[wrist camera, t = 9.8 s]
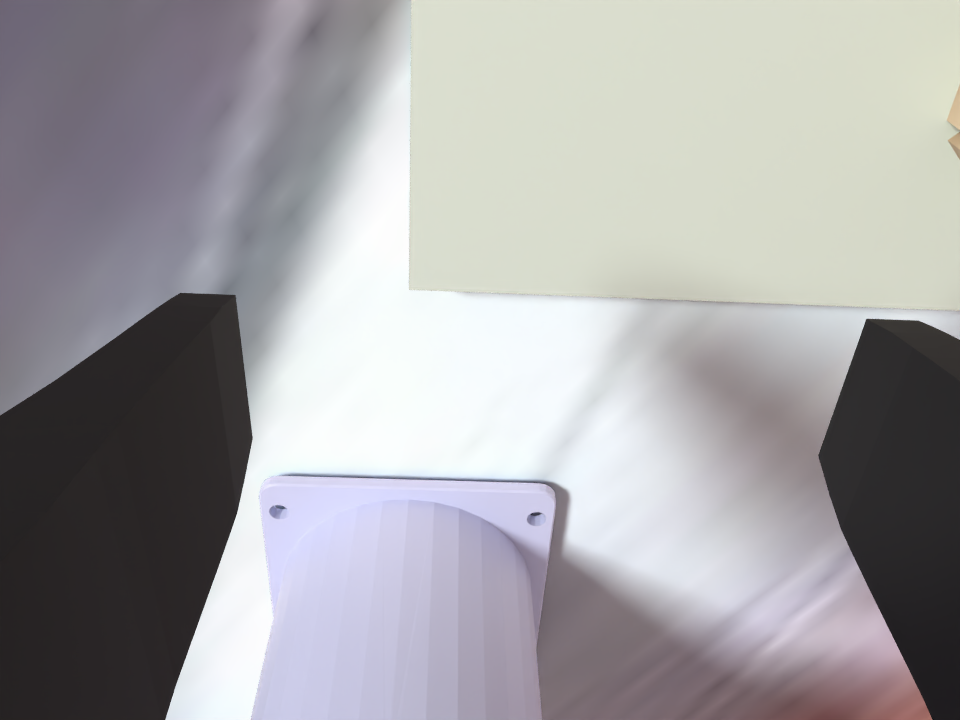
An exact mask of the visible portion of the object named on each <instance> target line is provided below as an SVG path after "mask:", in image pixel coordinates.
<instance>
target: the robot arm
mask: <svg viewBox="0 0 960 720" xmlns="http://www.w3.org/2000/svg"><path fill="white" fill-rule="evenodd" d="M251 444H252V430H251V421H250V413H249V405H248V396H247V388H246V380H245V371H244V363H243V355H242V346H241V338H240V329H239V321H238V313H237V304H236V296H235V295H220V294H193V293H180V294H178V295H176V296H175V297H173V298H171V299H170V300H168V301H167V302H165V303H164V304H162V305H161V306H159V307H158V308H156V309H155V310H154V311H152V312H151V313H149V314H148V315H146V316H145V317H144V318H142V319H141V320H139V321H138V322H137V323H135V324H134V325H133V326H131V327H130V328H128V329H127V330H126V331H124V332H123V333H122V334H120V335H119V336H117V337H116V338H115V339H113V340H112V341H110V342H109V343H108V344H106V345H105V346H103V347H102V348H101V349H99V350H98V351H96V352H95V353H93V354H92V355H91V356H89V357H88V358H86V359H85V360H84V361H82V362H81V363H79V364H78V365H76V366H75V367H74V368H72V369H71V370H69V371H68V372H67V373H65V374H64V375H62V376H61V377H59V378H58V379H57V380H55V381H54V382H52V383H51V384H49V385H47V386H46V387H44V388H43V389H41V390H40V391H38V392H36V393H35V394H33V395H32V396H30V397H29V398H27V399H26V400H24V401H22V402H21V403H19V404H18V405H16V406H15V407H13V408H11V409H10V410H8V411H7V412H5V413H4V414H2V415H0V720H165V718H166V715H167V712H168V709H169V706H170V702H171V699H172V696H173V693H174V689H175V686H176V683H177V680H178V678H179V675H180V672H181V669H182V667H183V664H184V661H185V658H186V655H187V653H188V650H189V647H190V644H191V641H192V639H193V636H194V633H195V630H196V628H197V625H198V622H199V619H200V616H201V614H202V611H203V608H204V605H205V603H206V600H207V597H208V594H209V591H210V589H211V586H212V583H213V580H214V578H215V575H216V572H217V569H218V566H219V563H220V561H221V558H222V555H223V552H224V549H225V546H226V543H227V541H228V538H229V535H230V532H231V529H232V526H233V523H234V520H235V517H236V514H237V511H238V506H239V502H240V497H241V493H242V488H243V484H244V479H245V474H246V469H247V464H248V459H249V454H250V449H251ZM818 456H819V460H820V463H821V466H822V470H823V473H824V477H825V480H826V484H827V487H828V491H829V494H830V497H831V500H832V503H833V506H834V509H835V512H836V515H837V518H838V521H839V524H840V527H841V530H842V532H843V534H844V536H845V539H846V541H847V543H848V545H849V547H850V550H851V552H852V554H853V556H854V558H855V560H856V562H857V564H858V566H859V568H860V570H861V572H862V575H863V577H864V579H865V581H866V583H867V585H868V587H869V589H870V591H871V593H872V595H873V597H874V599H875V601H876V603H877V605H878V607H879V609H880V612H881V614H882V616H883V618H884V620H885V622H886V624H887V626H888V628H889V630H890V632H891V634H892V636H893V638H894V640H895V642H896V644H897V646H898V648H899V650H900V652H901V654H902V656H903V658H904V660H905V662H906V664H907V666H908V668H909V670H910V672H911V674H912V677H913V679H914V681H915V683H916V685H917V687H918V689H919V691H920V693H921V695H922V697H923V699H924V701H925V703H926V706H927V708H928V710H929V713H930V715H931V717H932V719H933V720H960V340H958V339H957V338H955V337H953V336H951V335H949V334H947V333H945V332H943V331H941V330H939V329H936V328H934V327H932V326H930V325H927V324H925V323H923V322H920V321H910V320H884V319H866V322H865V325H864V328H863V330H862V333H861V336H860V339H859V342H858V345H857V348H856V350H855V353H854V356H853V359H852V362H851V365H850V367H849V370H848V373H847V376H846V379H845V382H844V384H843V387H842V390H841V393H840V396H839V399H838V401H837V404H836V407H835V410H834V413H833V416H832V418H831V421H830V424H829V427H828V430H827V433H826V436H825V438H824V441H823V444H822V447H821V450H820V453H819V455H818ZM259 501H260V509H261V517H262V526H263V534H264V542H265V551H266V559H267V567H268V576H269V584H270V592H271V601H272V609H273V617H274V618H273V622H272V627H271V631H270V635H269V640H268V644H267V649H266V653H265V658H264V662H263V667H262V671H261V676H260V680H259V684H258V689H257V693H256V698H255V702H254V707H253V711H252V716H251V720H542V711H541V699H540V687H539V675H538V663H537V651H536V648H537V641H538V634H539V626H540V619H541V612H542V605H543V597H544V590H545V583H546V576H547V569H548V561H549V554H550V547H551V540H552V533H553V525H554V518H555V511H556V499H555V492H554V491H553V489H552V488H551V487H549V486H547V485H546V484H540V483H513V482H478V481H443V480H408V479H374V478H339V477H304V476H272V477H270V478H268V479H266V480H265V481H264V482H263V483H262V486H261V489H260V494H259ZM275 505H281V506H284V507H285V508H286V509H279V508H276V507H275ZM534 512H539V513H542V514H541V515H538V516H532V515H530V514H531V513H534Z"/></svg>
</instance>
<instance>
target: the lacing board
mask: <svg viewBox="0 0 960 720" xmlns="http://www.w3.org/2000/svg"><path fill="white" fill-rule="evenodd" d="M959 85H960V0H411V115H410V234H409V290H429V291H455V292H481V293H508V294H534V295H560V296H586V297H612V298H639V299H665V300H691V301H717V302H743V303H770V304H796V305H822V306H848V307H874V308H901V309H927V310H953V311H960V160H959V158H958V156H957V155H956V153H955V151H954V150H953V148H952V147H951V145H950V143H949V142H948V140H949V139H950V138H952V137H953V136H955V135H956V134H957V133H959V132H960V130H959V129H958V128H956V127H955V126H953V125H952V124H951V123H949V122H948V121H947V118H948V115H949V113H950V110H951V107H952V104H953V101H954V99H955V96H956V93H957V90H958V87H959Z"/></svg>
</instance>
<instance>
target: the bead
mask: <svg viewBox="0 0 960 720" xmlns="http://www.w3.org/2000/svg"><path fill="white" fill-rule="evenodd" d="M947 121H948V122H949V123H951V124H952V125H953V126H955V127H956V128H958V129H959V130H960V85H959V87H958V90H957V93H956V96H955V99H954V101H953V104H952V107H951V110H950V113H949V115H948V118H947ZM948 142H949V143H950V145H951V147H952V148H953V150H954V151H955V153H956V155H957V156H958V158H959V160H960V132H959V133H957V134H956V135H955V136H953V137H952V138H950V139H949V140H948Z"/></svg>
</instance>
